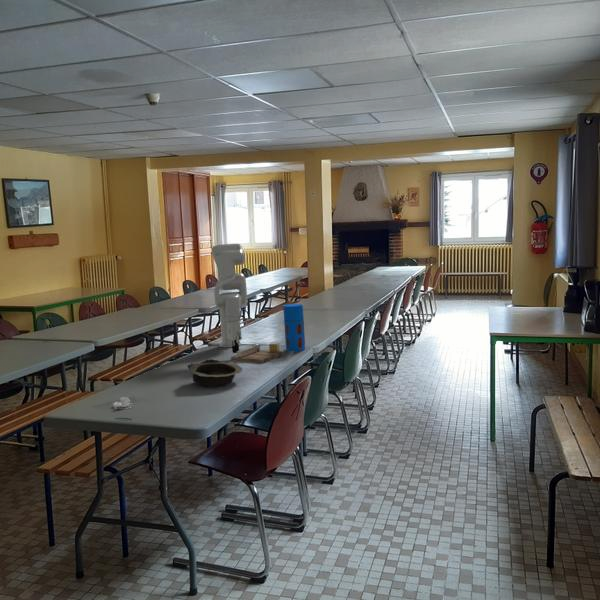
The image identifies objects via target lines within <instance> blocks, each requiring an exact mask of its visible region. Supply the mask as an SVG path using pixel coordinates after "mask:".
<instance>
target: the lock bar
mask: <svg viewBox="0 0 600 600" xmlns="http://www.w3.org/2000/svg"><path fill="white" fill-rule="evenodd" d="M260 350H261V346H260V343H253V344H252V345H251V346H248V347H246V348H242V349H239V351H237V353H236V355H237V357H243V356H245V355H248V354H251V353H253V352H256V351H260Z"/></svg>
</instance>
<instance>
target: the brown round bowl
mask: <svg viewBox="0 0 600 600" xmlns="http://www.w3.org/2000/svg"><path fill="white" fill-rule="evenodd" d="M187 368H188V372H189V373H191V374H192V381H193V382H194V383H197V384H199V386H200V387H203V388H215V387H225V386H227V385H229V384H231V383H232V382H233V380H234V378H235V377H236V375H239V374H240V373H242V371H243V367H241V366H239V365H238V364H235V363H231V362H221V361H219V360H217V359H206V360H204V361H201V362H200V363H197V362H196V363H190V364H187Z"/></svg>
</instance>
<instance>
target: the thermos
mask: <svg viewBox="0 0 600 600" xmlns="http://www.w3.org/2000/svg"><path fill="white" fill-rule="evenodd" d="M304 319H305V318H304V306H303V303H288V304H284V305H283V323H284V336H285V337H284V340H285V341H284V342H285V351H287V352H294V353H295V352H301V351H305V350H306V339H305V322H304V321H305V320H304Z"/></svg>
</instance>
